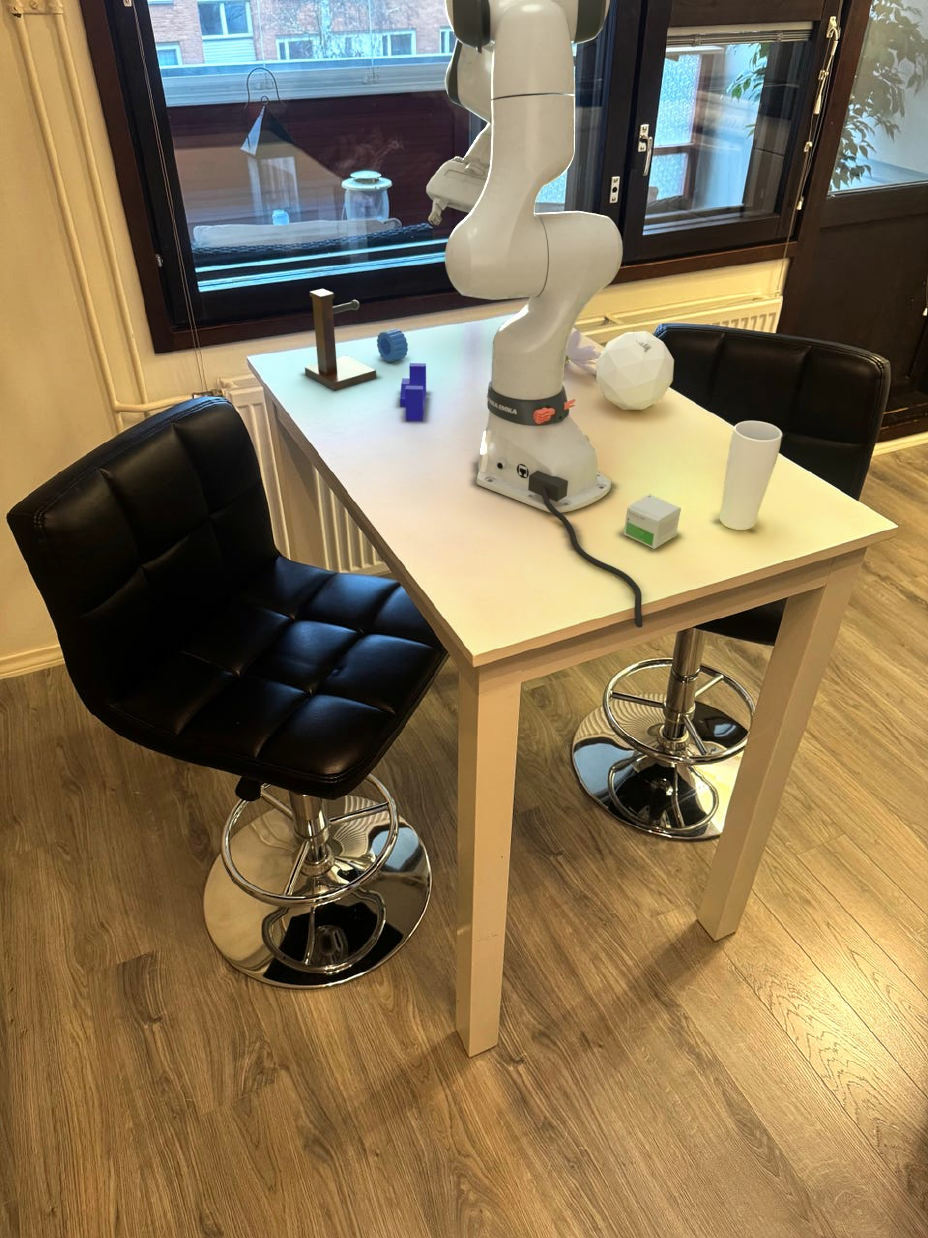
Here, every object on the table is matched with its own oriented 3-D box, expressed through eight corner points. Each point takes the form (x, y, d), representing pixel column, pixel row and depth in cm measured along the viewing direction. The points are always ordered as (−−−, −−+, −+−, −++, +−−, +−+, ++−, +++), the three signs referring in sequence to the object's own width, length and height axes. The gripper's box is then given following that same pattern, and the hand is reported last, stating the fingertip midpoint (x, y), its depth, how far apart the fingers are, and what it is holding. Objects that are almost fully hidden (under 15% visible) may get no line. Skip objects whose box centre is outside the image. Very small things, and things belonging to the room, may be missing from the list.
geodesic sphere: (700, 392, 159) (684, 311, 158) (629, 403, 155) (612, 320, 154) (657, 413, 173) (642, 339, 173) (591, 424, 169) (575, 348, 168)
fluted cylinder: (392, 356, 187) (388, 327, 184) (409, 359, 183) (405, 329, 180) (379, 360, 185) (374, 330, 182) (396, 363, 181) (392, 332, 178)
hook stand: (347, 362, 183) (342, 277, 172) (377, 377, 177) (373, 290, 167) (305, 374, 177) (297, 287, 167) (334, 390, 171) (327, 301, 161)
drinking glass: (726, 506, 139) (746, 415, 130) (767, 521, 136) (791, 429, 127) (705, 523, 135) (725, 431, 126) (747, 539, 131) (770, 445, 122)
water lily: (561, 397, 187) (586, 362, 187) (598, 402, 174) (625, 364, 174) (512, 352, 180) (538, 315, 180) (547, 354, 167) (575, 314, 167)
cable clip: (402, 393, 171) (401, 362, 167) (426, 393, 171) (426, 363, 167) (397, 420, 161) (396, 388, 158) (422, 421, 161) (422, 389, 158)
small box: (622, 535, 132) (626, 505, 129) (645, 521, 135) (650, 492, 132) (654, 550, 129) (659, 521, 126) (677, 536, 132) (682, 506, 129)
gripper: (443, 144, 173) (404, 206, 174) (517, 161, 161) (475, 228, 161) (460, 166, 178) (422, 227, 179) (533, 185, 166) (492, 250, 167)
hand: (448, 227), depth 170 cm, fingers open, 8 cm apart
